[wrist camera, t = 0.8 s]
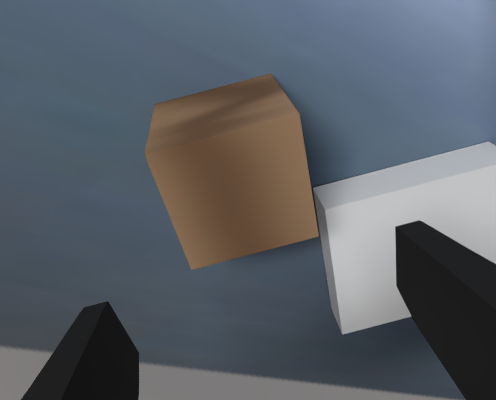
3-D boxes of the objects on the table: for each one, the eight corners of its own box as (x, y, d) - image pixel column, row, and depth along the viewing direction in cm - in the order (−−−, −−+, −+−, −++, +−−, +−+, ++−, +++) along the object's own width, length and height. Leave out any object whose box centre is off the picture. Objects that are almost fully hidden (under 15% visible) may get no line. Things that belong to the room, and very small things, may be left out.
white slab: (488, 141, 20) (516, 159, 18) (472, 271, 25) (493, 295, 23) (312, 187, 20) (324, 209, 18) (331, 308, 25) (342, 334, 23)
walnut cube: (270, 73, 17) (299, 113, 12) (289, 174, 19) (318, 236, 15) (154, 103, 17) (144, 154, 12) (190, 200, 19) (191, 269, 15)
